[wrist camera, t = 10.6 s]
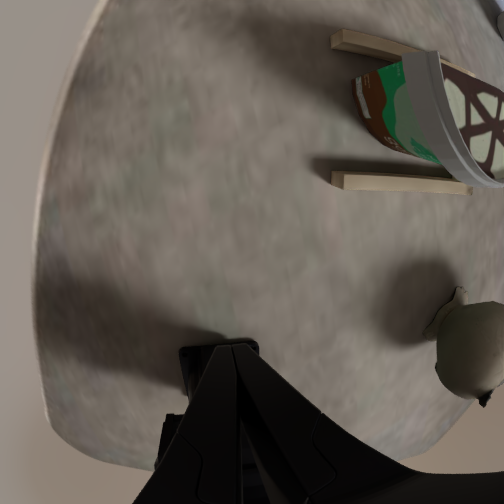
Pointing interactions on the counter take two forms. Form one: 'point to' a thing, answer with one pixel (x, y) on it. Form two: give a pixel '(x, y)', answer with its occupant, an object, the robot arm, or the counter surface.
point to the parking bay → (388, 181)
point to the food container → (436, 116)
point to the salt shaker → (501, 24)
